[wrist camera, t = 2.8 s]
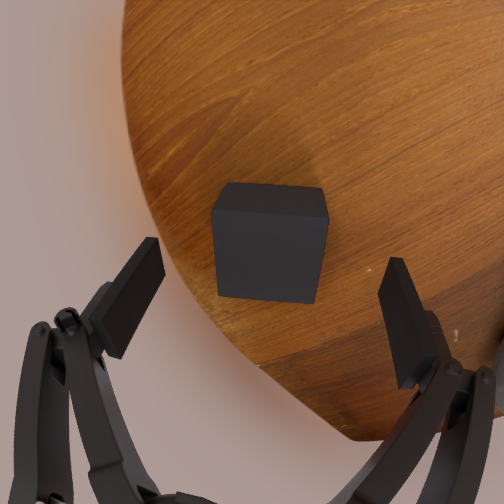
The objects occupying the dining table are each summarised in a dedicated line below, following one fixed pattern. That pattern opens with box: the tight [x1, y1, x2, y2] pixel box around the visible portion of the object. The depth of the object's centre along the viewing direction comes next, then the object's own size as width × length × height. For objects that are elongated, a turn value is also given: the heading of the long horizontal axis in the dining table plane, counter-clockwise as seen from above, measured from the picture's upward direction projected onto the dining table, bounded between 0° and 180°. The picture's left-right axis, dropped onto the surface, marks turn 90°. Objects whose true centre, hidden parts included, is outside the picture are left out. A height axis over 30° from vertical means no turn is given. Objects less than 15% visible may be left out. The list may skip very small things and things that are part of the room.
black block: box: [211, 183, 329, 304], centre depth 18 cm, size 6×6×4 cm
